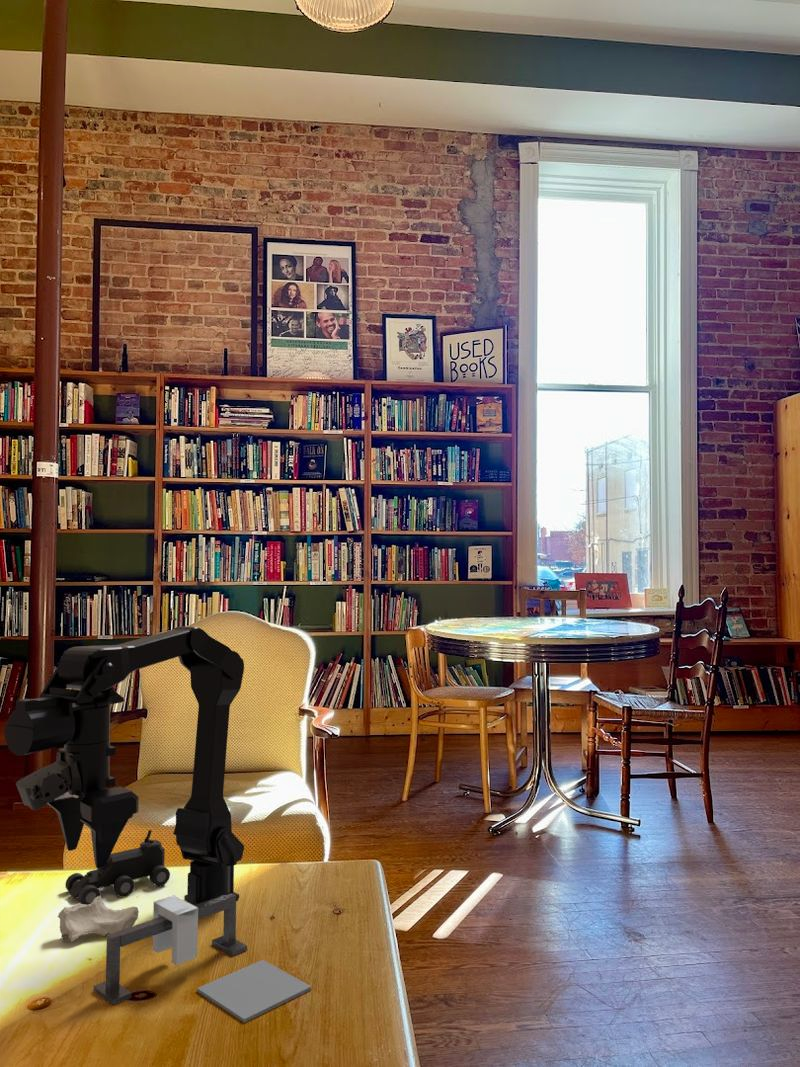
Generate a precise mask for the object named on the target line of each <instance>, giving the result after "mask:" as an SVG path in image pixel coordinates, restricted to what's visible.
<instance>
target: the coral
mask: <svg viewBox="0 0 800 1067" xmlns="http://www.w3.org/2000/svg"><path fill="white" fill-rule="evenodd" d="M139 912H140V911H139V908H138V907H137V906H130V907H126V908H122V909H111V908H108V907H107V906H106V905H105V902H104V901H103V899H102V896H101V895H100V896H98V897H96V898H95V899H94V900H93V902H92V903H91V904H89V905H86V904H81V903H80V902H78V903H75V904H74V905H72V906H70V907H67V906H64V907H63V909H62V910H60V912H58V915H57V918H59V933H61V937H62V938H61V939H62V942H63V943H64V942H67V941H70V942H72V943H73V942H74V941H75V940H77V939H79V937H80V936H86V935H87V934H92V933H94V934H97V935H99V936H102V937H106V936H107V935H110V934H113V933H116V932H118V931H121V930H124V929H126V928H129V927H132V926H135V923H136V921H137V920H138V919H139Z"/></svg>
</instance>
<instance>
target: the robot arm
mask: <svg viewBox="0 0 800 1067" xmlns="http://www.w3.org/2000/svg"><path fill="white" fill-rule="evenodd" d="M176 658H178V660H179V663H180V664H181V665H182V666H183V667H184V668H185V669H186V670H187V671H188V672H190V688H191V690H192V693H193V695H194V697H195V699H196V702H197V704H198V708H197V709H198V710H197V723H196V736H195V744H194V745H195V746H194V748H195V749H194V760H193V770H192V771H193V772H192V781H191V782H192V783H191V792H190V793H191V794H190V797H189V799H188V800H187V802H186V803H185V805H184V807H179V808H177V810H176V812H175V827H174V830H173V833H172V834H173V835H174V836H175V842H176V846H177V847H179V849H180V852H181V856H182V859H183V860H189V861H190V862H189V872H188V873H187V886H186V887H187V891H186V892H187V894H185V895H184V896H183V900H184V901H186V902H188V903H190V904H192V905H197V904H200V903H203V902H205V901H208V900H211V899H214V898H217V897H220V896H223V895H227V894H230V893H232V894H235V895H236V900H238V899H240V894H239V893H237V892H235V891H234V888H235V886H234V884H235V883H234V882H235V874H234V873H235V866H236V865H237V864H238V862H239V861H241V860H242V859H243V856H244V850H245V844H243V843H242V841H241V840H239V838H238V837H237V836H236V835H235V834H234V833H233V832H232V831H233V830H232V829H233V828H232V814H231V811H230V809H229V807H228V805H227V802H226V800H225V798H224V789H225V788H224V787H225V786H224V785H225V774H226V763H227V762H226V761H227V759H226V758H227V748H228V747H227V746H228V734H229V733H228V731H229V721H230V708H231V704H232V703H233V702H234V700H235V698H236V697H237V695H238V693H239V692H240V691H241V688H242V683H243V678H244V673H245V672H244V671H245V662H244V659H243V658H242V657H241V655H240V654H239V653H238V652H237V651H236V650H233V649H232V648H230V647H229V646H228V645H226V644H224V643H222V642H220V641H218V640H217V639H215V638H213V637H212V636H210V635H209V634H208V633H207V632H206V631H205V630H204V629H202V628H201V627H198V626H176V627H175V628H174V627H173V628H172V629H170V630H167V631H163V632H159V633H156V634H151V635H148V636H144V637H141V638H137V639H132V640H130V641H126V642H123V643H119V644H114V645H113V644H111V645H110V644H109V645H107V644H106V645H87V646H86V645H83V646H72V647H70V648H68V649H66V650H64V651H63V652H62V656H61V658H60V659H59V662H58V665H57V667H56V669H55V671H54V672H53V673H52V674H51V677H50V679H48V682H46V685H45V686H44V688H43V689H42V691H41V692H40V695H39V698H37V697H36V698H22V699H17V700H16V702H15V709H14V710H13V711H12V712H11V713H10V714H9V716H8V718H7V721H6V725H4V730H3V731H4V740H5V744H6V746H7V748H8V749H9V751H10V752H11V753H12V754H13V755H16V756H17V757H21V756H25V755H26V756H27V755H31V754H35V753H36V754H37V753H38V752H44V751H48V750H53V749H56V748H58V751H56V760H55V762H52V763H51V764H48V765H45V766H43V767H41V768H39V769H38V770H35V771H33V772H31V773H29V774H27V775H25V776H24V777H22V778H20V779H19V780H17V781H16V783H15V785H16V787H17V791H18V793H19V795H20V798H21V800H22V804H23V805H24V806H25V807H28V808H30V810H32V811H38V810H41V809H42V808H44V807H46V806H47V805H48V806H50V807H51V808H52V809H53V810H54V811H55V812H56V815H57V817H58V821H59V824H60V827H61V831H62V835H63V839H64V842H65V847H66V849H67V851H69V852H70V851H75V850H77V849H78V844H79V842H80V839H81V836H82V834H83V829H84V825H85V826H86V827H87V828H89V829H90V834H91V835H90V836H91V841H92V842H91V844H92V852H93V858H94V864H95V868H96V869H98V868H102V867H104V866H105V865H106V863H107V861H108V859H109V857H110V855H111V854H112V853H113V850H114V849H115V847H116V844H117V842H118V841H119V837H120V836H121V834H122V832H123V830H124V829H125V827H126V825H127V824H128V822H129V819H132V818H133V816H134V815H135V814H137V813H138V812H139V796H138V795H137V794H136V793H135V792H134V791H133V790H130V789H127V788H125V787H123V786H116V777H114V776H111V775H110V770H111V769H110V762H111V761H110V760H111V759H110V757H111V756H116V753H117V752H116V749H117V748H116V747H115V746H113V745H111V705H114V704H120V703H123V702H124V701H125V699H124V696H122V695H121V694H119V693H118V692H117V691H116V690H115V689H114V686H116V685H117V686H118V684H120V683H122V682H124V681H126V679H127V677H128V676H129V675H130V674H131V673H133V672H135V671H138V670H140V669H143V668H146V667H150V666H154V665H156V664H159V663H163V662H166V661H169V660H173V659H176ZM115 786H116V787H115ZM110 787H111V788H110ZM106 788H107V789H106Z"/></svg>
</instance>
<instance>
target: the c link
mask: <svg viewBox="0 0 800 1067" xmlns="http://www.w3.org/2000/svg"><path fill="white" fill-rule="evenodd" d="M194 905H195V904H193V903H191V902H189V901H187V900H185V899H182V898H180V897H178V896H176V895H171V896H168V897H165V898H162V899H158V900H156V901H153V918H152V920H153V919H156V918H159V917H162V916H163V917H165V918H166V919H168V920H170V921H172V929H171V930H168V931H165V932H162V933H159V934H157V935H154V936H152V951H153V952H155V953H156V954H158V953H161V952H163V951H164V952H165V951H167V950H170V949H171V963H172V964H174V965H176V966H179V965H181V964H183V963H186V962H188V961H191V960H193V959H194V960H195V959H196V958H198V941H199V940H198V937H199V932H198V929H199V928H198V927H199V920H198V908H197V907H195V906H194Z"/></svg>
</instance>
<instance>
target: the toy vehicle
mask: <svg viewBox="0 0 800 1067" xmlns="http://www.w3.org/2000/svg"><path fill="white" fill-rule="evenodd" d="M152 831H153V830H151V829H148V832H147V834H146V836H145V839H143V840H144V841H142V842H141V843H140V844H139V847H135V848H132V849H131V848H130V849H126V850H122V851H118V852H111V855H110V857H109V859H108V861H107V863H106V865H105V866H104V867H102V868H96V869H93V870H90V871H88V872H86V873H85V874H82V873H80V872H79V873H78V872H75V873H72V874H71V875H69V876H68V877H67V879H66V881H65V889H66V891H68V892H67V893H68V895H69V896H71V897H72V899H77V898H78V901H79V902H78V903H81V904H86V905H89V904H91V903H92V902H93V900H94V899H95V898H96V897H98V896H101V891H100V889H101V888H106V887H110V886H112V889H113V892H114V893H115V895H117V896H118V897H119V898H124V897H128V896H129V895H131V894H132V892H133V891H134V890H135V882H134V880H137V879H143V878H146V877H149V881H150V882H151V883H152V884H153V885H155V886H156V887H161V886H162V887H163V886H164V885H166V884H167V883H168V882H169V880H170V878H171V872H170V870H169V869H168V868H167V867H166V866H165V859H166V858H165V852H166V850H165V848H164V847H163V846H162V842H161V841H160V840H157V839H150V838H151V835H152Z"/></svg>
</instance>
